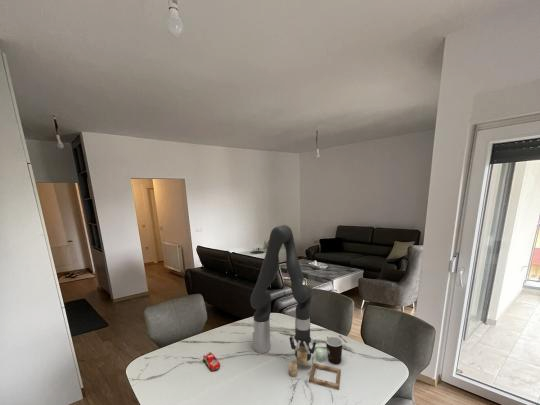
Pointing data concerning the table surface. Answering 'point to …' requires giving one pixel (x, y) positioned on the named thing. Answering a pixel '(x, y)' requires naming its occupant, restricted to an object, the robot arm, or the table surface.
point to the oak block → (302, 356)
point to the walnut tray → (323, 382)
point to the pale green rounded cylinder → (320, 354)
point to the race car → (211, 361)
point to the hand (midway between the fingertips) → (302, 358)
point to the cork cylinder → (292, 369)
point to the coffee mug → (334, 349)
